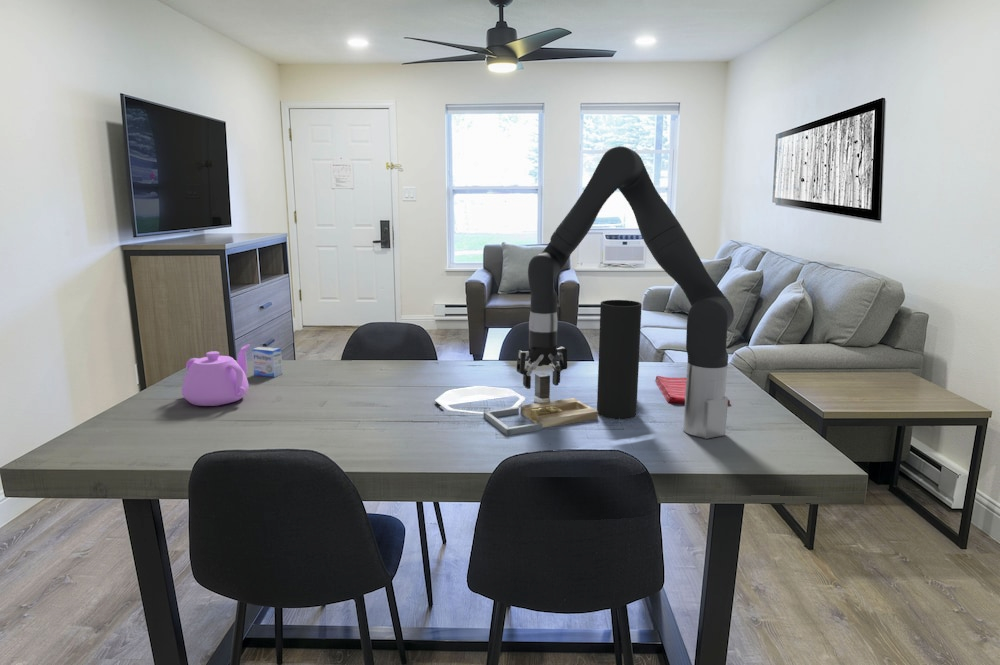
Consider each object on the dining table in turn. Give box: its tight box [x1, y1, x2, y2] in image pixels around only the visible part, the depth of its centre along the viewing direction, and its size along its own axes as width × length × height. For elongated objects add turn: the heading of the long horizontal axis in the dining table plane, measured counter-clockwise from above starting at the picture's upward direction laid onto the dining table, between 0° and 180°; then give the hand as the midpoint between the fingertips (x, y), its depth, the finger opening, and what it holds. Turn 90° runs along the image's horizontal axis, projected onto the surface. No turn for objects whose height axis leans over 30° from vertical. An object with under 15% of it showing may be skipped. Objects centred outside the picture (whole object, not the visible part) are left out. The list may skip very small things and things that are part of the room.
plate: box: [434, 385, 526, 415], centre depth 183 cm, size 24×24×2 cm
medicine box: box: [251, 346, 283, 378], centre depth 210 cm, size 8×4×9 cm, turn 73°
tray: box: [483, 407, 543, 436], centre depth 164 cm, size 14×10×2 cm
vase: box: [596, 299, 643, 420], centre depth 169 cm, size 10×10×30 cm
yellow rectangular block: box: [531, 408, 549, 421], centre depth 167 cm, size 4×3×2 cm
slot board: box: [520, 397, 599, 429], centre depth 169 cm, size 12×16×3 cm
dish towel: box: [654, 375, 731, 406], centre depth 193 cm, size 17×24×3 cm
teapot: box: [181, 343, 251, 407], centre depth 186 cm, size 22×22×14 cm
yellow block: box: [545, 406, 563, 414], centre depth 169 cm, size 4×3×2 cm
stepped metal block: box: [533, 372, 551, 403], centre depth 179 cm, size 4×3×9 cm, turn 24°
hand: (541, 386), depth 179 cm, fingers open, 8 cm apart
